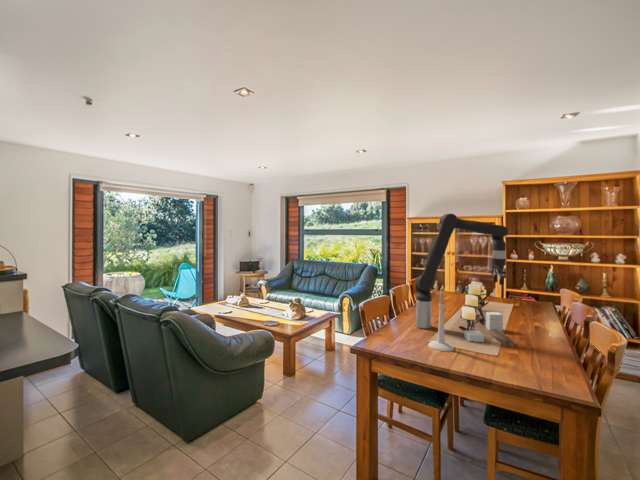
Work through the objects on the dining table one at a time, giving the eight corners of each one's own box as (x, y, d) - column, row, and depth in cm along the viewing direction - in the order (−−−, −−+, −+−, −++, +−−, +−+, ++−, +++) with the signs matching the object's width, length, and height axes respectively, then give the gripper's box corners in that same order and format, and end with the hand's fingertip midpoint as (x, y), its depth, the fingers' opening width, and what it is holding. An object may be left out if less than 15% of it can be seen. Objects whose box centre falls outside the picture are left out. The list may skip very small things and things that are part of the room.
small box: (498, 328, 198) (499, 312, 197) (502, 331, 192) (503, 314, 192) (485, 328, 198) (485, 311, 198) (489, 331, 193) (489, 314, 192)
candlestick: (442, 353, 157) (443, 294, 156) (423, 345, 168) (423, 290, 167) (459, 349, 163) (460, 292, 162) (439, 341, 174) (440, 288, 173)
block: (469, 341, 174) (469, 334, 174) (464, 337, 182) (464, 330, 182) (484, 342, 173) (484, 335, 173) (478, 337, 181) (478, 331, 181)
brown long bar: (505, 346, 166) (505, 340, 166) (489, 334, 186) (489, 328, 186) (513, 347, 166) (513, 340, 166) (496, 334, 186) (496, 329, 185)
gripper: (487, 256, 201) (487, 281, 202) (497, 258, 187) (497, 285, 188) (500, 256, 200) (499, 281, 201) (510, 258, 186) (510, 285, 187)
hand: (498, 283), depth 194 cm, fingers open, 8 cm apart
